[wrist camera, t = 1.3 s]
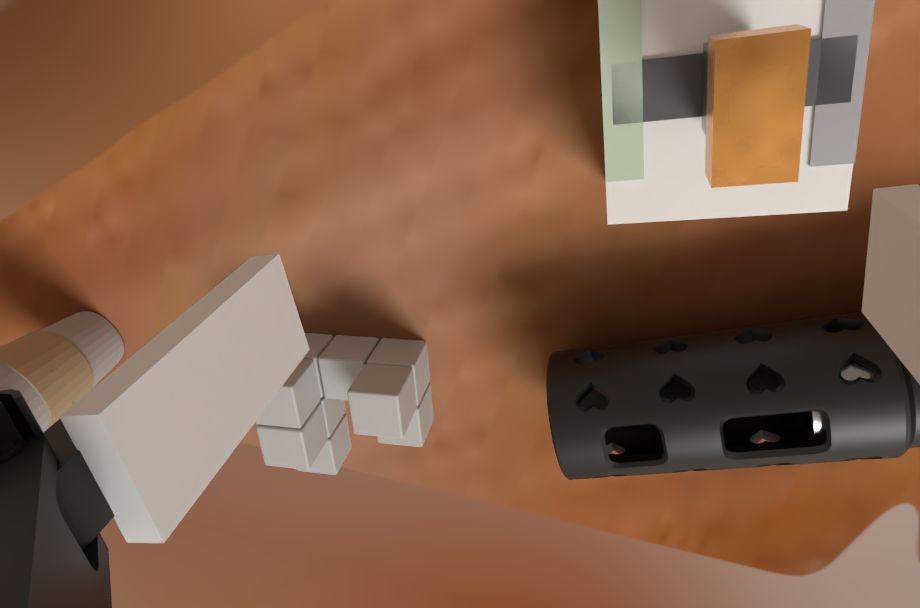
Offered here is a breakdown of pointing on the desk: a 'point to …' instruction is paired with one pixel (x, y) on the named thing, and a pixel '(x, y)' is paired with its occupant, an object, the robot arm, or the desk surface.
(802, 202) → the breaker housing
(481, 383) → the desk surface
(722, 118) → the breaker toggle
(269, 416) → the puzzle cube
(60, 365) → the coffee cup
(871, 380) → the muzzle brake
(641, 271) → the desk surface
